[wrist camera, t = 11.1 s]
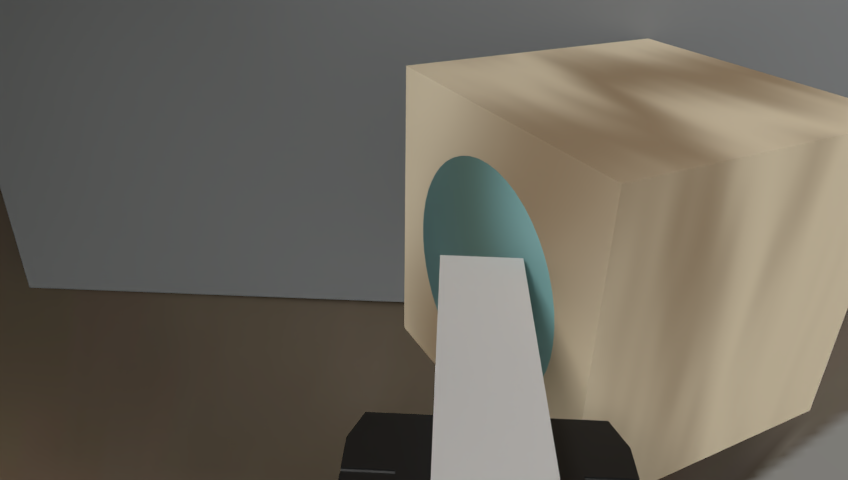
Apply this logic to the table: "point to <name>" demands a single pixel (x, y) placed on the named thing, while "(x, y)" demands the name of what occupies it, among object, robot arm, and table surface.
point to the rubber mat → (286, 124)
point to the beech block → (641, 231)
